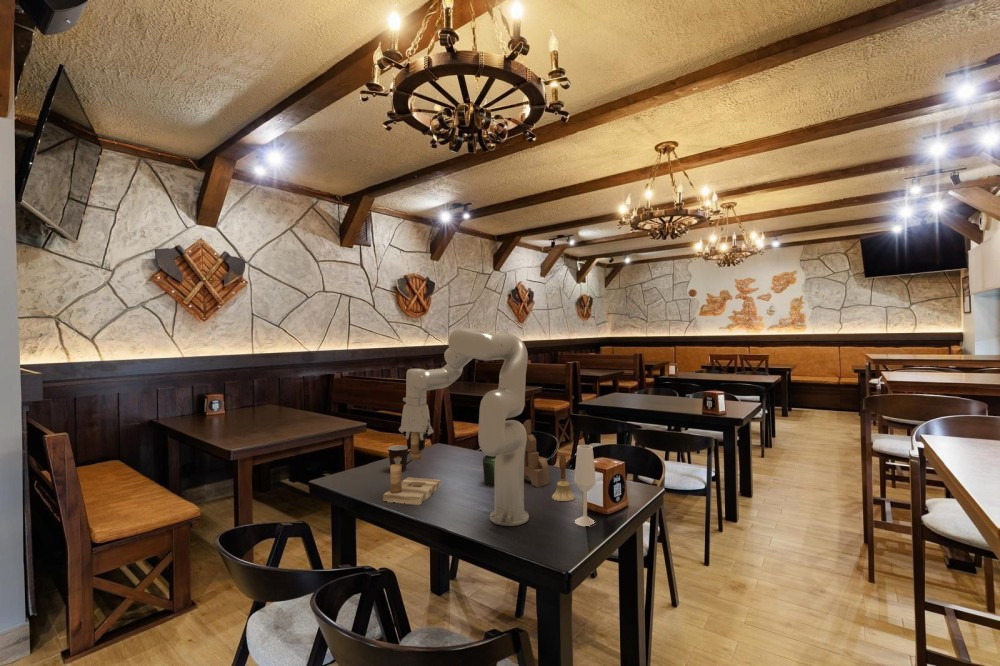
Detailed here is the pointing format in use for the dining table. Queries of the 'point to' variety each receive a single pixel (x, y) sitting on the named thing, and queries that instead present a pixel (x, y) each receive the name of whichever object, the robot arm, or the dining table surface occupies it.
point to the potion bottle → (489, 470)
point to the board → (409, 488)
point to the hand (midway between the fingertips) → (415, 448)
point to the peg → (415, 446)
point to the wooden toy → (534, 461)
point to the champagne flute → (584, 478)
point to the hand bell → (563, 484)
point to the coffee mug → (399, 455)
